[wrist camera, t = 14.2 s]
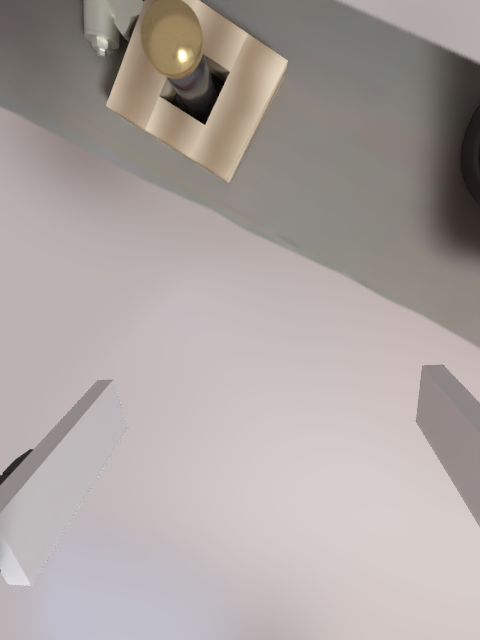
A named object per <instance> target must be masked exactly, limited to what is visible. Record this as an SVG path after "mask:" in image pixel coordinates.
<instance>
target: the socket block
mask: <svg viewBox="0 0 480 640" xmlns="http://www.w3.org/2000/svg"><path fill="white" fill-rule="evenodd" d="M156 1H158V0H145V1H144V4H143V7H142V9H141V12H140V15H139V18H138V20H137V23H136V26H135V28H134V31H133V34H132V37H131V39H130V42H129V45H128V47H127V50H126V53H125V56H124V58H123V61H122V64H121V66H120V69H119V72H118V75H117V77H116V80H115V83H114V85H113V88H112V91H111V94H110V96H109V99H108V102H107V104H106V106H107V107H108V108H110V109H111V110H112V111H114V112H115V113H117V114H118V115H119V116H121V117H122V118H124V119H125V120H127V121H129V122H130V123H132V124H133V125H135V126H137V127H138V128H140V129H142V130H143V131H145V132H146V133H148V134H150V135H151V136H153V137H155V138H156V139H158V140H159V141H161V142H163V143H164V144H166V145H168V146H169V147H171V148H172V149H174V150H176V151H177V152H179V153H180V154H182V155H184V156H185V157H187V158H189V159H190V160H192V161H193V162H195V163H197V164H198V165H200V166H202V167H203V168H205V169H206V170H208V171H210V172H211V173H213V174H215V175H216V176H218V177H219V178H221V179H223V180H224V181H226V182H228V183H229V184H230V182H231V180H232V178H233V176H234V174H235V172H236V170H237V169H238V167H239V165H240V163H241V161H242V159H243V157H244V155H245V153H246V151H247V149H248V147H249V145H250V143H251V142H252V140H253V138H254V136H255V134H256V132H257V130H258V128H259V126H260V124H261V122H262V120H263V118H264V116H265V114H266V113H267V111H268V109H269V107H270V105H271V103H272V101H273V99H274V97H275V95H276V93H277V91H278V89H279V87H280V86H281V84H282V82H283V80H284V77H285V72H286V67H287V63H288V61H287V60H286V59H284V58H283V57H281V56H280V55H278V54H277V53H276V52H274V51H273V50H271V49H270V48H268V47H267V46H265V45H264V44H262V43H261V42H259V41H258V40H257V39H255V38H254V37H252V36H251V35H249V34H248V33H246V32H245V31H243V30H242V29H240V28H239V27H238V26H236V25H235V24H233V23H232V22H230V21H229V20H227V19H226V18H224V17H223V16H221V15H220V14H219V13H217V12H216V11H214V10H213V9H211V8H210V7H208V6H207V5H205V4H204V3H202V2H201V1H200V0H182V1H183V2H185V3H186V4H188V5H189V6H190V7H191V8H192V10H193V11H194V12H195V14H196V16H197V18H198V20H199V23H200V26H201V30H202V33H203V38H204V50H203V54H204V57H205V60H206V63H207V66H208V69H209V72H210V73H212V74H213V75H215V76H216V77H218V78H219V79H221V80H222V81H224V82H225V84H224V86H223V88H222V90H221V92H220V94H219V97H218V99H217V101H216V103H215V105H214V107H213V109H212V112H211V114H210V116H209V118H208V120H207V122H206V124H205V125H204V124H202V123H201V122H199V121H198V120H196V119H195V118H193V117H191V116H190V115H188V114H187V113H185V112H183V111H182V110H180V109H179V108H177V107H176V106H174V105H172V102H173V100H174V97H175V95H176V93H177V92H176V91H175V89H174V88H173V86H172V85H171V83H170V82H169V80H168V78H167V77H165V76H164V75H162V74H160V73H159V72H158V71H157V70H156V69H155V68H154V67H153V65H152V64H151V62H150V61H149V59H148V58H147V56H146V54H145V52H144V50H143V47H142V43H141V25H142V21H143V18H144V15H145V13H146V12H147V10H148V9H149V7H150V6H151V5H152V4H153V3H155V2H156Z"/></svg>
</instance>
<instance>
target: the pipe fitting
mask: <svg viewBox="0 0 480 640" xmlns="http://www.w3.org/2000/svg"><path fill="white" fill-rule="evenodd" d="M143 4H144V2H143V1H142V0H84V37H85V38H86V39H87V40H88V41H89V42H91V43H92V48H93V49H94V50H96V51H97V55H98V56H99V57H101V58H107V54H112V49H118V48H119V31H120V32H121V34H122V35H123V37H124V38H125V39H126V40H127V41H128V42H130V39H131V37H132V34H133V31H134V28H135V26H136V23H137V20H138V18H139V15H140V12H141V9H142V7H143Z"/></svg>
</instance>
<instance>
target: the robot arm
mask: <svg viewBox="0 0 480 640" xmlns="http://www.w3.org/2000/svg"><path fill="white" fill-rule="evenodd" d="M462 171H463V176H464V179H465V182H466V185H467V187H468V189H469V191H470V193H471V194H472V196H473V197H474V198H475V199H476V200H477V201H478V202H479V203H480V106H479V108H478V109H477V111H476V113H475V114H474V116H473V118H472V120H471V122H470V124H469V127H468V129H467V132H466V135H465V139H464V143H463V149H462ZM416 422H417V424H418V426H419V427H420V429H421V430H422V432H423V434H424V435H425V437H426V439H427V441H428V442H429V444H430V445H431V447H432V448H433V450H434V452H435V454H436V455H437V457H438V459H439V460H440V462H441V463H442V465H443V467H444V469H445V470H446V472H447V473H448V475H449V477H450V478H451V480H452V482H453V483H454V485H455V486H456V488H457V490H458V491H459V493H460V495H461V497H462V498H463V500H464V501H465V503H466V505H467V506H468V508H469V509H470V511H471V513H472V515H473V516H474V518H475V519H476V521H477V523H478V525H479V526H480V403H479V402H478V401H477V400H476V399H475V398H474V397H473V396H472V394H471V393H470V392H469V391H468V390H467V389H466V388H465V387H464V386H463V385H462V384H461V383H460V382H459V381H458V380H457V379H456V378H455V377H454V376H453V375H452V374H451V373H450V372H449V370H448V369H447V368H446V367H445V366H444V365H425V366H422V372H421V381H420V390H419V399H418V409H417V417H416ZM127 429H128V427H127V424H126V420H125V417H124V414H123V411H122V407H121V404H120V401H119V397H118V394H117V391H116V388H115V384H114V381H113V380H100V381H97V382H96V383H95V384H94V385H93V386H92V387H91V388H90V389H89V390H88V391H87V392H86V393H85V395H84V396H83V397H82V398H81V399H80V400H79V401H78V402H77V403H76V404H75V405H74V407H72V409H71V410H70V411H69V412H68V413H67V414H66V415H65V416H64V417H63V419H61V420H60V422H59V423H58V424H57V425H56V426H55V427H54V428H53V429H52V430H51V431H50V432H49V433H48V435H47V436H46V437H45V438H44V439H43V440H42V441H41V442H40V443H39V444H38V445H37V446H36V447H35V449H30V450H28V451H27V452H26V453H24V454H23V455H21V456H20V457H19V458H17V459H16V460H15V461H14V462H13V463H12V464H11V465H10V466H9V467H8V468H7V469H6V470H5V471H4V472H3V475H0V572H1V573H2V575H3V576H4V578H5V580H6V581H7V583H8V584H11V585H32V584H33V583H34V581H35V579H36V578H37V576H38V574H39V573H40V571H41V569H42V568H43V566H44V564H45V563H46V561H47V560H48V558H49V556H50V554H51V553H52V552H53V550H54V548H55V547H56V545H57V543H58V541H59V540H60V538H61V537H62V535H63V534H64V532H65V530H66V529H67V527H68V525H69V524H70V522H71V521H72V519H73V517H74V516H75V514H76V512H77V511H78V509H79V507H80V506H81V504H82V503H83V501H84V499H85V498H86V496H87V494H88V493H89V491H90V489H91V488H92V486H93V485H94V483H95V481H96V480H97V478H98V476H99V475H100V473H101V472H102V470H103V468H104V467H105V465H106V463H107V462H108V460H109V458H110V457H111V455H112V453H113V452H114V450H115V449H116V447H117V445H118V444H119V442H120V441H121V439H122V437H123V436H124V434H125V432H126V431H127Z"/></svg>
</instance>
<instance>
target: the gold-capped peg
mask: <svg viewBox="0 0 480 640" xmlns="http://www.w3.org/2000/svg"><path fill="white" fill-rule="evenodd" d="M141 43H142V47H143V50H144V52H145V54H146V56H147V58H148V59H149V61H150V62H151V64H152V65H153V67H154V68H155V69H156V70H157V71H158V72H159V73H160V74H162V75H164V76H165V77H167V78H168V80H169V82H170V83H171V85H172V86H173V88H174V89H175V91H176V92H177V94H178V95H179V97H180V99H181V100H182V102H183V103H184V105H185V106H186V108H187V109H188V111H189V112H190V113H191V114H192V115H193V116H195V117H197V118H206V117H208V116H210V114H211V112H212V109H213V107H214V105H215V103H216V101H217V94H216V91H215V88H214V85H213V82H212V78H211V75H210V72H209V69H208V66H207V63H206V60H205V57H204V54H203V50H204V38H203V33H202V30H201V26H200V23H199V20H198V18H197V16H196V14H195V12H194V11H193V10H192V8H191V7H190V6H189V5H188V4H186V3H185V2H183V1H182V0H158V1H156V2H155V3H153V4H152V5H151V6H150V7H149V9H148V10H147V12H146V13H145V15H144V18H143V21H142V25H141Z"/></svg>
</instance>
